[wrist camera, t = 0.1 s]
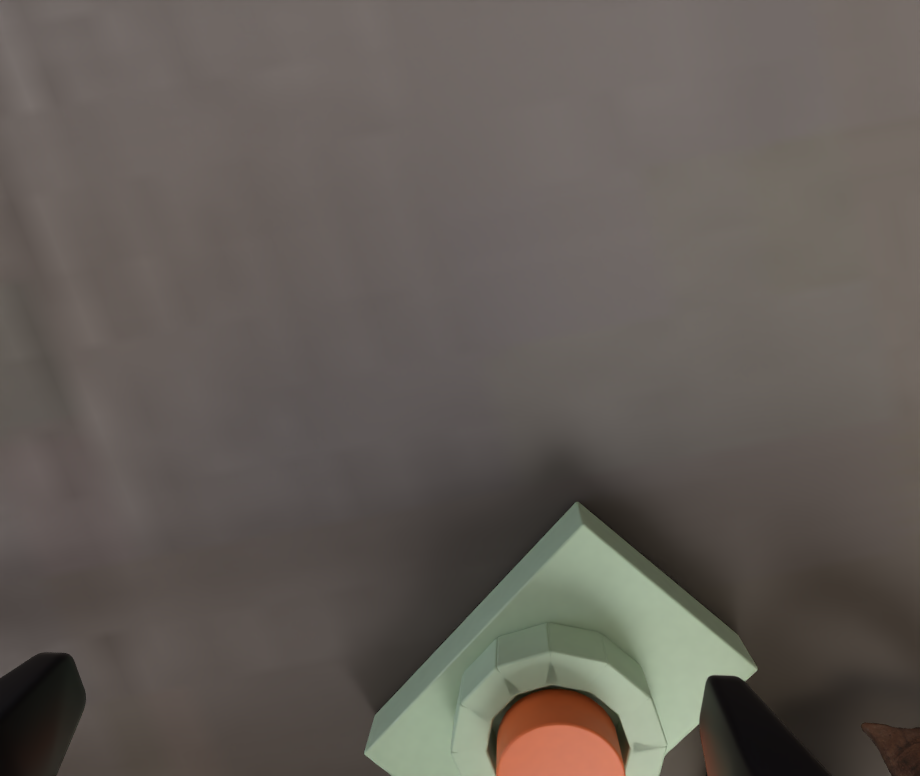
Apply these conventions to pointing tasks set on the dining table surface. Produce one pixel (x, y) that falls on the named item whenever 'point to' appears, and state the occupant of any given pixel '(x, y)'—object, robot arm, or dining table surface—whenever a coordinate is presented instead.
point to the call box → (563, 657)
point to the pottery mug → (896, 747)
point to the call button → (557, 737)
